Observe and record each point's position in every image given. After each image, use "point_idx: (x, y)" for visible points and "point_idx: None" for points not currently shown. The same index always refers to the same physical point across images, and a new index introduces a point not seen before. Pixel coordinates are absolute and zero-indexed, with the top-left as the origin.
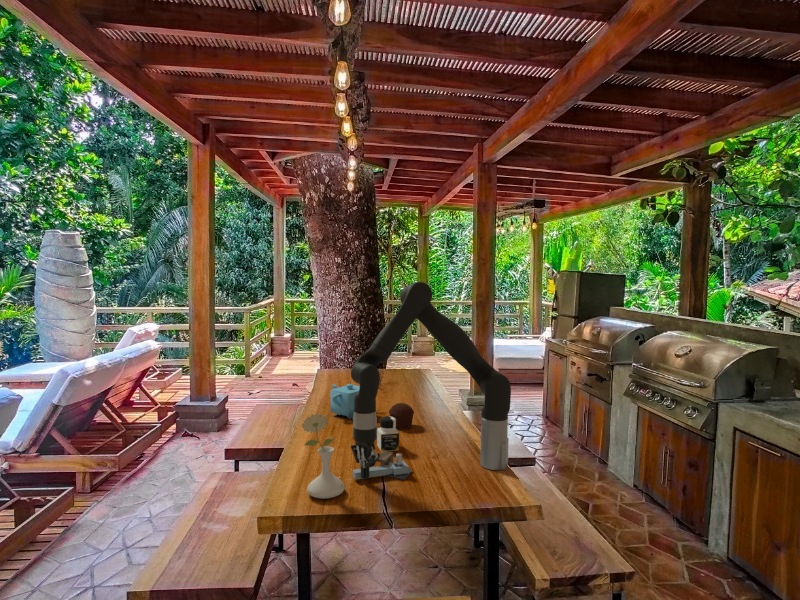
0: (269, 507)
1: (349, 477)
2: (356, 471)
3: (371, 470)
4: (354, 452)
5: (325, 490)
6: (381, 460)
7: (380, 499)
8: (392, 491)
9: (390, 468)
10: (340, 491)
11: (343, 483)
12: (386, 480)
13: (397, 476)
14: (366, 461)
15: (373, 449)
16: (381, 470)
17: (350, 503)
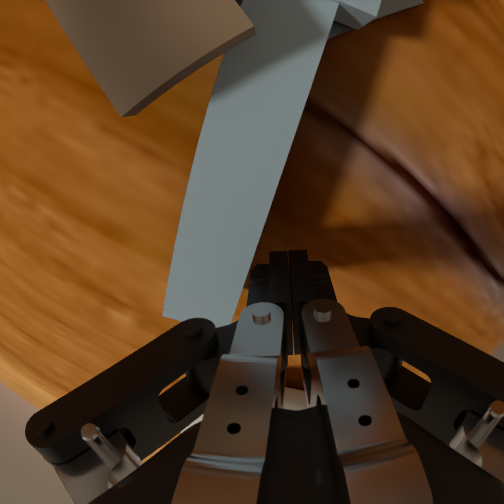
0: None
1: (152, 283)
2: (204, 311)
3: (260, 206)
4: (145, 448)
5: None
6: (210, 53)
7: (480, 282)
8: (480, 181)
9: (331, 25)
10: None
11: (293, 405)
12: (346, 100)
13: (376, 18)
14: (281, 341)
15: (498, 500)
16: (301, 111)
17: None
